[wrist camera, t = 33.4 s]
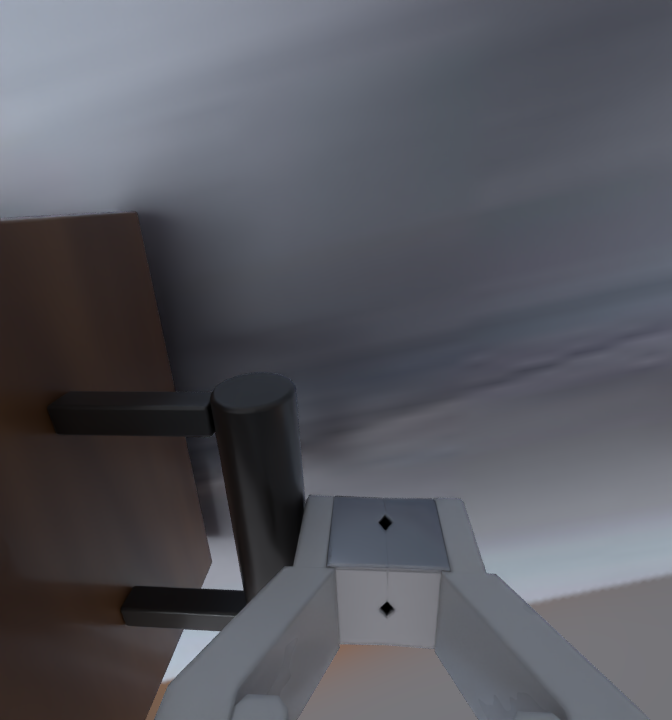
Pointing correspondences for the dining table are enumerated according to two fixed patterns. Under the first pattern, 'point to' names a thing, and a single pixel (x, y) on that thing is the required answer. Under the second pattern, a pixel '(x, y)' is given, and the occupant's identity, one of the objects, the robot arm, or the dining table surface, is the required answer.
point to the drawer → (117, 476)
